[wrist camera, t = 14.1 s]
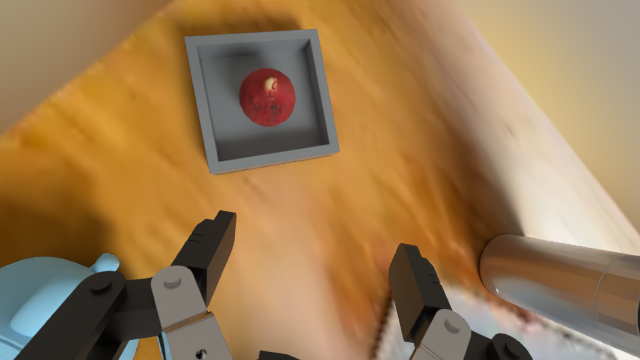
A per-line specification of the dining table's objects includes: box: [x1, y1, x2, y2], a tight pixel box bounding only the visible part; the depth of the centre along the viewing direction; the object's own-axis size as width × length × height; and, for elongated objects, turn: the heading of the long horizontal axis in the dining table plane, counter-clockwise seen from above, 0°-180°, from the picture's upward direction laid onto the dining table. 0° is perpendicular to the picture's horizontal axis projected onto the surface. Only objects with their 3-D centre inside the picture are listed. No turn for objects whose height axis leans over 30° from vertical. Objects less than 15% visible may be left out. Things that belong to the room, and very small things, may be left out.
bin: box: [184, 29, 340, 175], centre depth 33 cm, size 14×14×4 cm
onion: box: [239, 68, 296, 127], centre depth 30 cm, size 6×6×8 cm
